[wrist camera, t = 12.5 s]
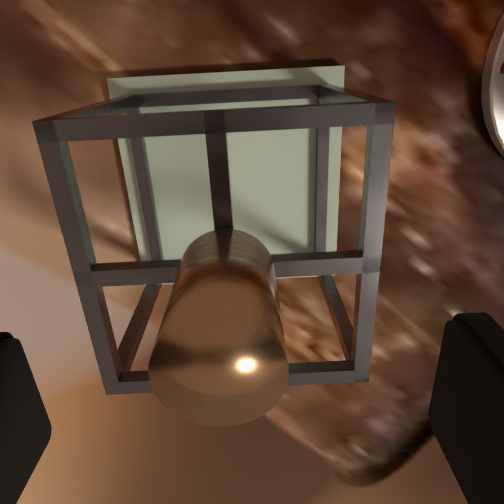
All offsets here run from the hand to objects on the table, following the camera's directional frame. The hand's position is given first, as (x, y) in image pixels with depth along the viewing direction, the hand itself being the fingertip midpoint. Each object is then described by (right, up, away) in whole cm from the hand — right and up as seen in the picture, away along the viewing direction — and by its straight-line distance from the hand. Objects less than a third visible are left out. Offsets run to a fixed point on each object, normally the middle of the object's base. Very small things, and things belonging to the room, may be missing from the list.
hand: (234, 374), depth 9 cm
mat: (-1, +7, +14) cm, 16 cm away
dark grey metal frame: (-1, +6, +14) cm, 15 cm away
